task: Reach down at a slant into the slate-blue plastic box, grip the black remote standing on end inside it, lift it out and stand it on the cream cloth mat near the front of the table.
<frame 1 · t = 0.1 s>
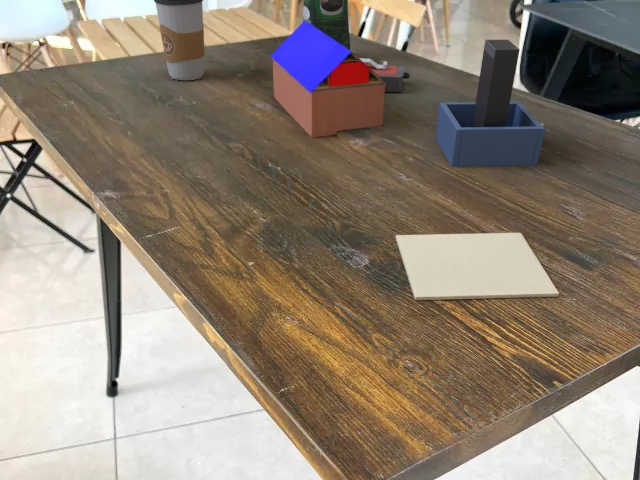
coffee cup: (187, 77, 119), on the table
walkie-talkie: (352, 84, 116), on the table
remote: (484, 150, 90), point 1 cm above the table, touching box
house: (325, 113, 104), on the table
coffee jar: (324, 60, 129), on the table
box: (483, 154, 91), on the table
mat: (471, 265, 67), on the table
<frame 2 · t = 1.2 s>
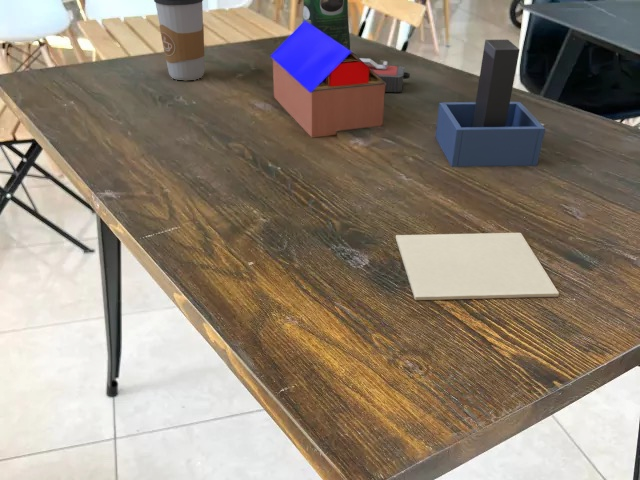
nothing on the table moved.
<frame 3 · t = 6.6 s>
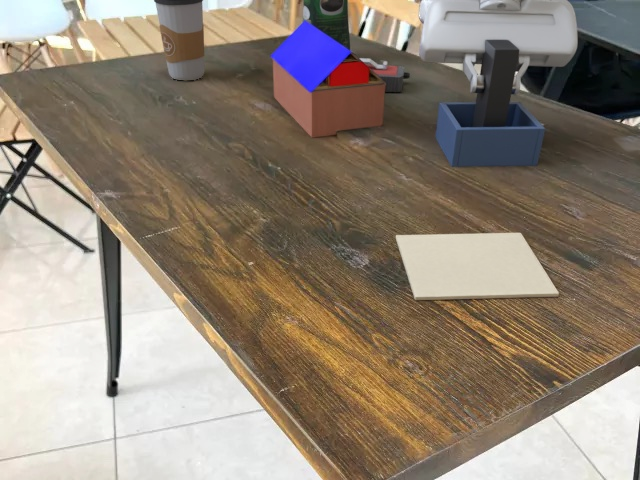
hand: (495, 91, 85), 9 cm above the table, tool tilted 45°, fingers closed on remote, 3 cm apart
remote: (484, 150, 90), point 1 cm above the table, touching box, gripper
everything else where it was.
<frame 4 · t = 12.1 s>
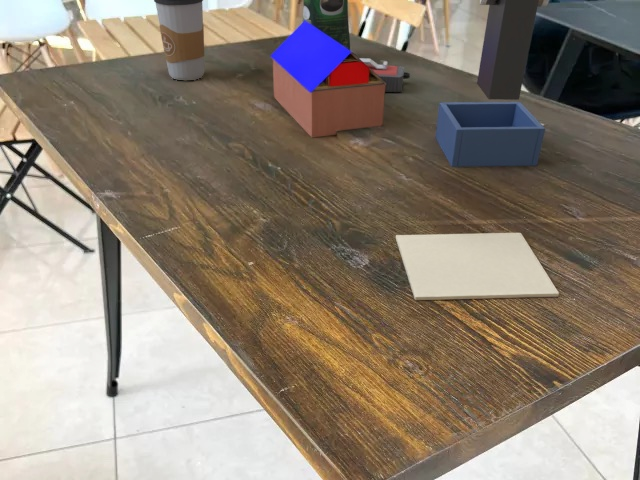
hand: (515, 2, 59), 23 cm above the table, tool tilted 45°, fingers closed on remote, 3 cm apart
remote: (497, 91, 65), point 15 cm above the table, touching gripper
everything else where it was.
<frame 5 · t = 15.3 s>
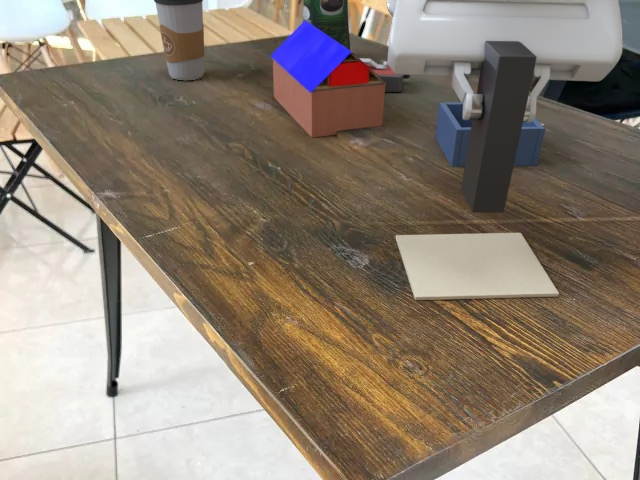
hand: (499, 118, 57), 16 cm above the table, tool tilted 45°, fingers closed on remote, 3 cm apart
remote: (481, 200, 62), point 7 cm above the table, touching gripper
everything else where it was.
when the fingers open (9 cm above the table, at t = 17.6 s): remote stays where it is, resting on mat.
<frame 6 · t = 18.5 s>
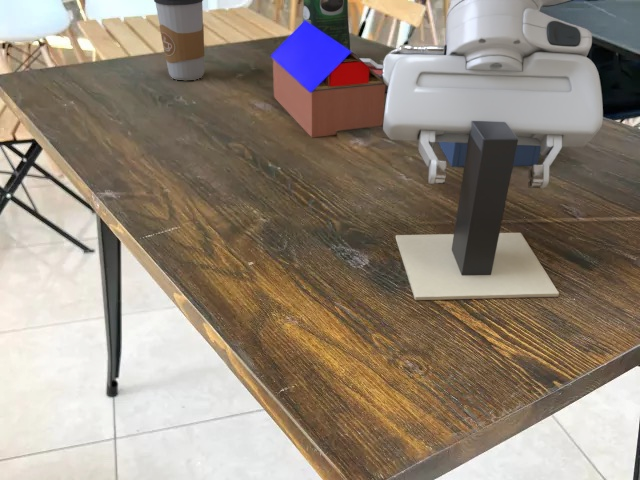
hand: (487, 184, 61), 9 cm above the table, tool tilted 45°, fingers open, 8 cm apart
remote: (470, 262, 67), resting on mat
everything else where it was.
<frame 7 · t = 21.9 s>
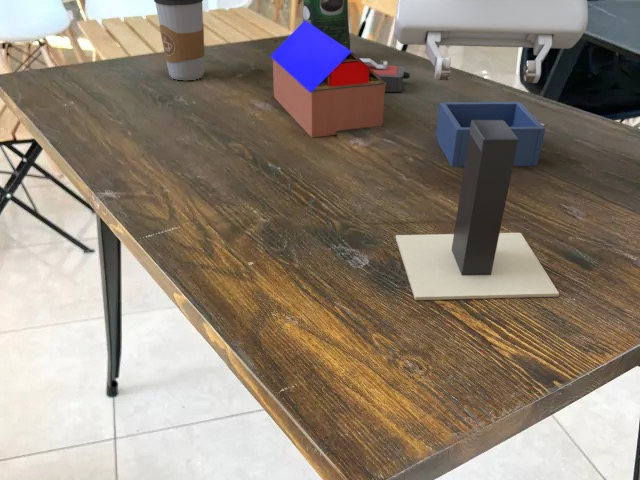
hand: (486, 79, 69), 15 cm above the table, tool tilted 45°, fingers open, 8 cm apart
nothing on the table moved.
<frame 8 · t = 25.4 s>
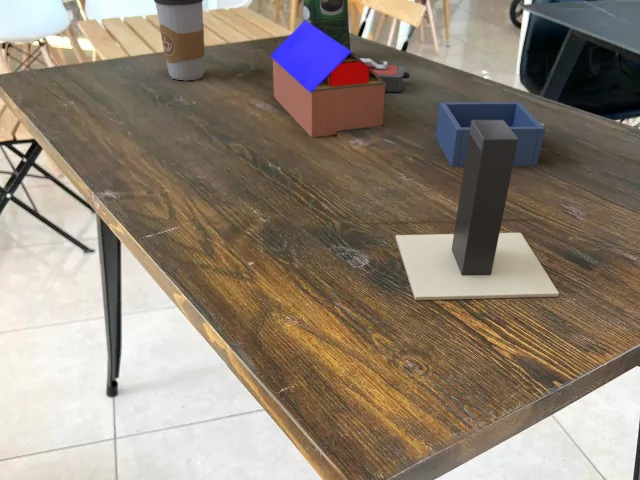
nothing on the table moved.
at the end: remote inside the target area on the mat (0.1 cm from its centre), point 0.4 cm above the mat's base; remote touching mat; the gripper is holding nothing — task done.
